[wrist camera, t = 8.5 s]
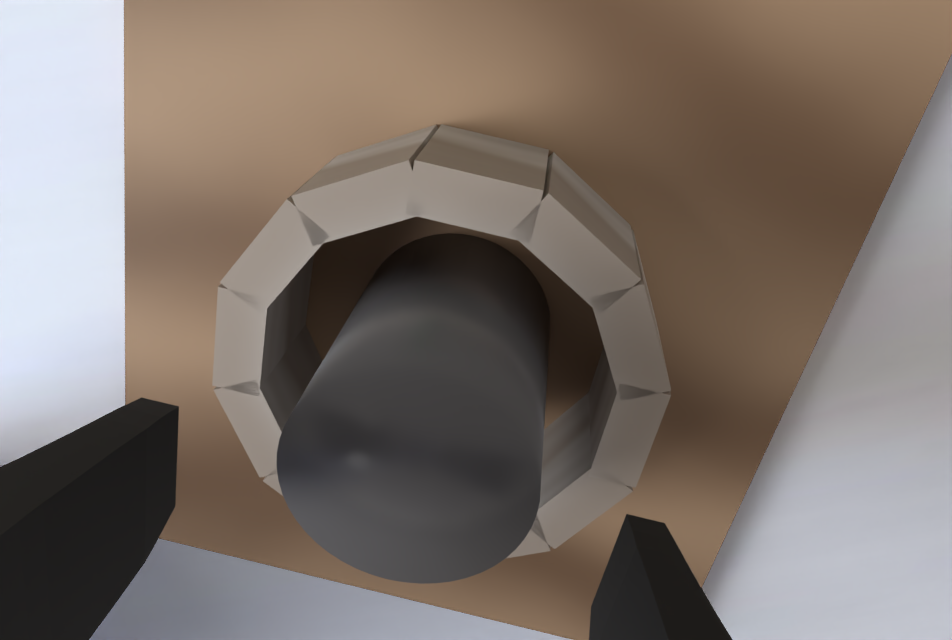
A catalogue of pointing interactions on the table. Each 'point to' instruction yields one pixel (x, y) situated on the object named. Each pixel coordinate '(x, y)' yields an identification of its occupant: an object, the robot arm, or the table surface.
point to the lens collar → (509, 236)
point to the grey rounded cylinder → (426, 417)
